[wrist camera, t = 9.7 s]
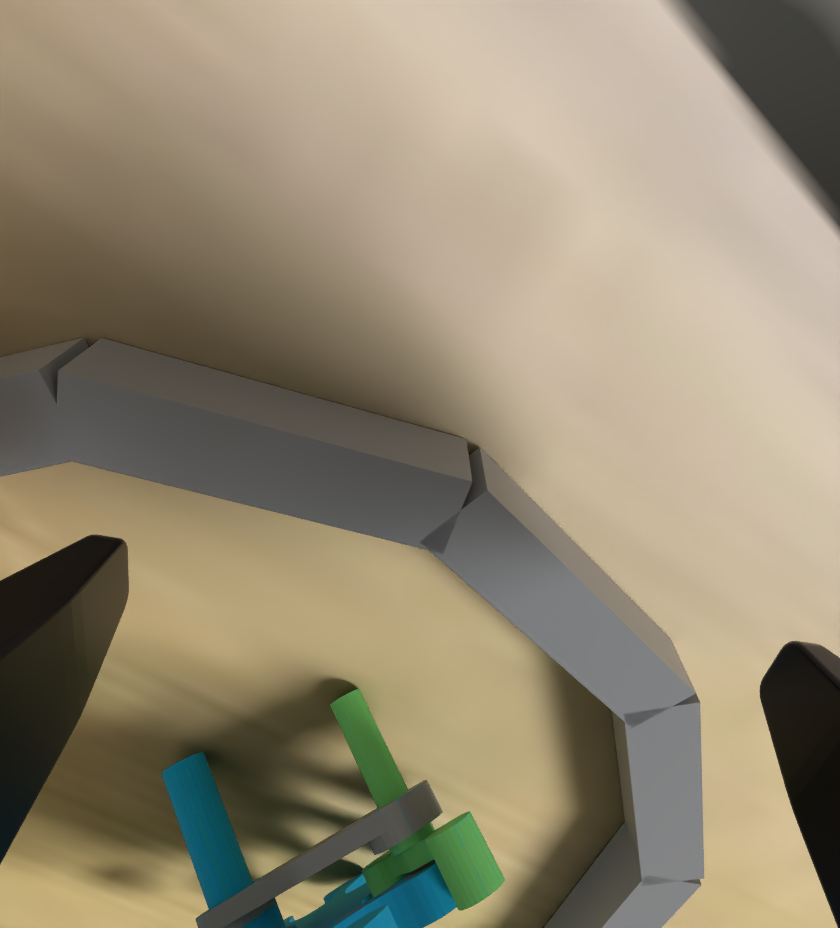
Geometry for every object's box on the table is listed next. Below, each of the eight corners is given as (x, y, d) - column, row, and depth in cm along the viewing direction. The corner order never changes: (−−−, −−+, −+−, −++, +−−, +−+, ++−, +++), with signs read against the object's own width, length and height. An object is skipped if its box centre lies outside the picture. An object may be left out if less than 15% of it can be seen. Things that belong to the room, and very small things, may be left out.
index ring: (690, 983, 22) (750, 1178, 18) (10, 1056, 24) (-68, 1240, 20) (650, 172, 10) (813, 223, 6) (-696, 494, 12) (-1224, 681, 8)
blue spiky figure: (236, 1007, 19) (-152, 1379, 10) (166, 806, 21) (-208, 955, 12) (557, 827, 17) (458, 1068, 8) (447, 628, 19) (266, 640, 10)
